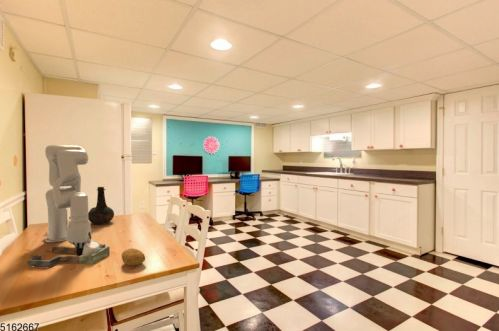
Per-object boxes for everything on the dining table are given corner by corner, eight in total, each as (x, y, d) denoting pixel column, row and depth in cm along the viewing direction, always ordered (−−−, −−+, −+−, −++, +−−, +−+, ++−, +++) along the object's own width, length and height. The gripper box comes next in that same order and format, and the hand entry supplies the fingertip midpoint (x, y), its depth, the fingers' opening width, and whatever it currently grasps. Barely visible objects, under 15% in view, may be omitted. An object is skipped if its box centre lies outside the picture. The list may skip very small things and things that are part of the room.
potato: (126, 271, 116) (126, 256, 116) (118, 262, 126) (118, 248, 125) (147, 265, 122) (147, 251, 122) (138, 257, 132) (138, 244, 131)
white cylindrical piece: (85, 249, 134) (89, 238, 132) (98, 254, 135) (102, 242, 134) (77, 257, 127) (81, 245, 126) (91, 262, 128) (96, 250, 127)
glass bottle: (98, 220, 209) (98, 185, 208) (119, 220, 207) (118, 185, 206) (81, 225, 191) (80, 188, 190) (103, 226, 189) (103, 188, 188)
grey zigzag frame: (19, 266, 121) (19, 258, 121) (61, 248, 145) (61, 241, 145) (84, 269, 118) (84, 260, 118) (116, 249, 143) (116, 242, 142)
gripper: (59, 220, 127) (60, 257, 128) (88, 221, 126) (89, 258, 126) (71, 216, 135) (72, 251, 135) (98, 217, 133) (99, 252, 134)
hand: (80, 255), depth 131 cm, fingers closed
